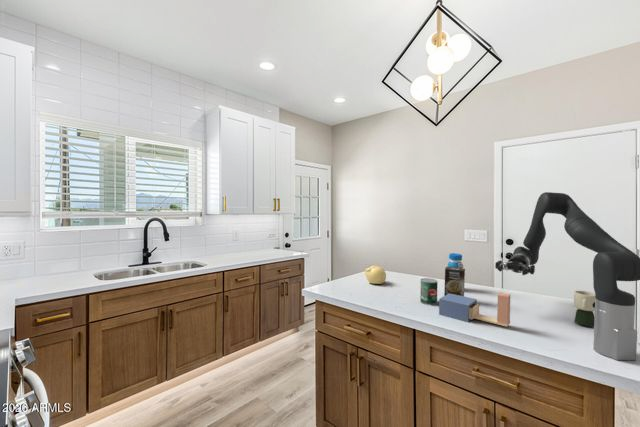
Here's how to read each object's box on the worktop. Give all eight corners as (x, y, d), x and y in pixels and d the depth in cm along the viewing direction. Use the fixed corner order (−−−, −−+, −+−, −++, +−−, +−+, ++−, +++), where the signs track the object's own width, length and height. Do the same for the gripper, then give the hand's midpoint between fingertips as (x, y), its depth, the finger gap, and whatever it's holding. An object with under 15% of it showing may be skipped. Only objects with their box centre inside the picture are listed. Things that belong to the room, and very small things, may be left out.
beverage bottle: (447, 290, 166) (448, 255, 166) (446, 286, 175) (446, 252, 174) (464, 292, 164) (464, 255, 163) (461, 287, 172) (462, 253, 171)
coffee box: (443, 300, 150) (444, 268, 149) (445, 296, 156) (445, 266, 155) (463, 303, 146) (464, 270, 145) (464, 299, 151) (465, 268, 151)
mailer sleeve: (476, 314, 131) (476, 299, 130) (468, 322, 123) (468, 305, 123) (448, 308, 139) (449, 293, 139) (439, 314, 131) (439, 298, 131)
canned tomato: (422, 298, 153) (422, 277, 152) (438, 301, 149) (438, 279, 148) (418, 303, 146) (418, 281, 145) (435, 306, 142) (436, 283, 141)
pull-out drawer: (511, 321, 120) (512, 293, 120) (505, 328, 114) (506, 298, 114) (453, 307, 136) (454, 282, 136) (446, 312, 130) (446, 286, 130)
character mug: (595, 331, 114) (597, 298, 113) (571, 326, 119) (572, 294, 118) (597, 323, 121) (598, 292, 121) (574, 318, 126) (575, 288, 126)
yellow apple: (374, 279, 190) (374, 262, 190) (389, 283, 181) (389, 266, 180) (362, 282, 183) (362, 265, 183) (377, 287, 174) (377, 268, 173)
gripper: (501, 252, 142) (492, 259, 130) (538, 257, 132) (532, 265, 121) (501, 267, 143) (492, 276, 131) (537, 273, 133) (531, 283, 121)
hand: (511, 271), depth 126 cm, fingers open, 8 cm apart
